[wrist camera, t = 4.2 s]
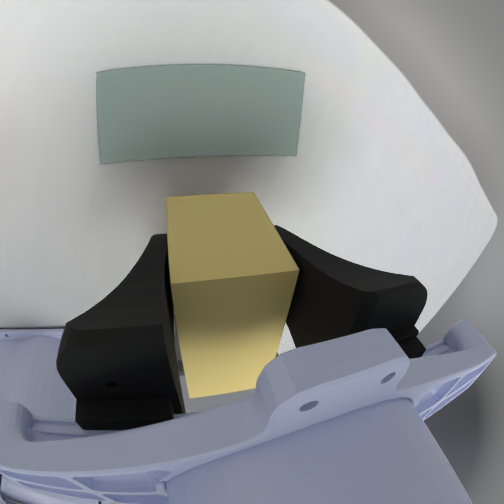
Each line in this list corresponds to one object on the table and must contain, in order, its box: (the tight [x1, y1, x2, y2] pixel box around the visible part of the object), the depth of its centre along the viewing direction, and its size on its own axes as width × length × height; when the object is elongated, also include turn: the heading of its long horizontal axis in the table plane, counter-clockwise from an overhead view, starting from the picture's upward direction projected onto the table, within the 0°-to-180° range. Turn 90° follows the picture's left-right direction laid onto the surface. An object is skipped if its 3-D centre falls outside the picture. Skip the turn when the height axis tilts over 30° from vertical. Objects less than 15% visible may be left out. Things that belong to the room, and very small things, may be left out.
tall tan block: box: [166, 192, 299, 398], centre depth 13 cm, size 4×8×6 cm, turn 175°
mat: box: [96, 64, 305, 165], centre depth 15 cm, size 12×6×1 cm, turn 85°
